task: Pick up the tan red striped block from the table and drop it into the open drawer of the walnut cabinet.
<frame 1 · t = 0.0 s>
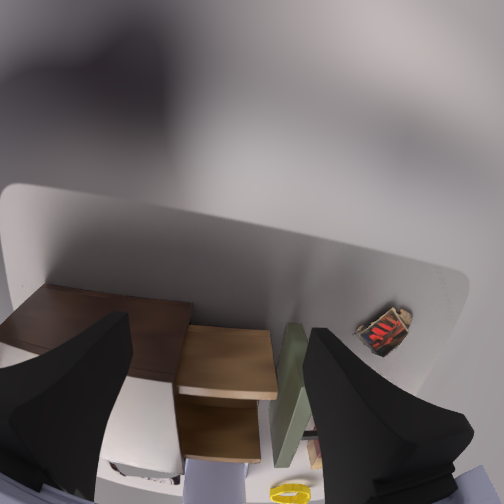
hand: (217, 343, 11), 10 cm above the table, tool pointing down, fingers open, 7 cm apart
pullout: (242, 400, 20), point 4 cm above the table, slide at 7.0 cm
cabinet: (118, 349, 23), on the table
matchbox: (386, 328, 24), on the table
tan red striped block: (326, 429, 28), on the table
yellow rubber band ring: (276, 489, 33), point 1 cm above the table
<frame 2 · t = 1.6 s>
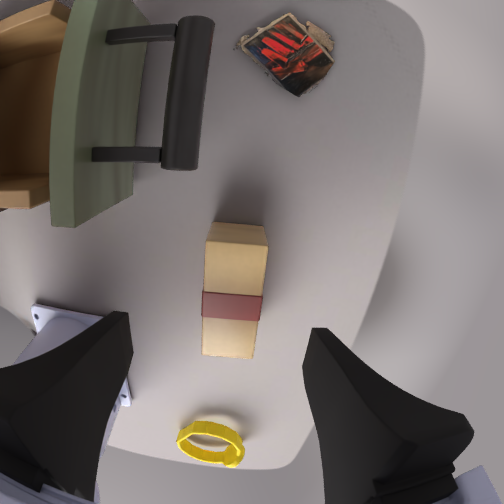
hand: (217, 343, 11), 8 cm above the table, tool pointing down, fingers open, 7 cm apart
pullout: (46, 105, 11), point 4 cm above the table, slide at 7.0 cm
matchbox: (292, 52, 14), on the table
tan red striped block: (232, 277, 19), on the table
yellow rubber band ring: (183, 429, 23), point 1 cm above the table
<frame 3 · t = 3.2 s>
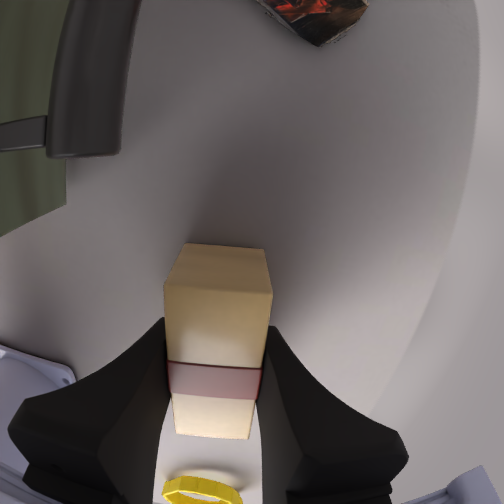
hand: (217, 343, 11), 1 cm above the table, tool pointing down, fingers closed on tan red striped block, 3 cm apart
tan red striped block: (219, 323, 12), on the table, touching gripper
yellow rubber band ring: (168, 483, 17), point 1 cm above the table
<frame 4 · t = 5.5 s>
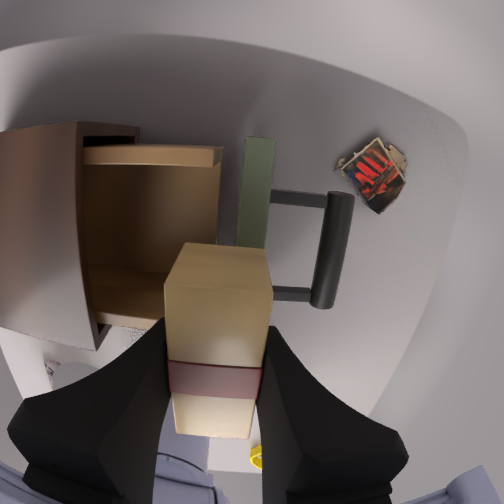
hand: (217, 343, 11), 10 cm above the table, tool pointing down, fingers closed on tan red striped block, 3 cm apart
pullout: (183, 229, 16), point 4 cm above the table, slide at 7.0 cm
cabinet: (59, 205, 19), on the table
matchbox: (376, 172, 19), on the table
tan red striped block: (219, 323, 12), point 9 cm above the table, touching gripper
yellow rubber band ring: (257, 447, 28), point 1 cm above the table
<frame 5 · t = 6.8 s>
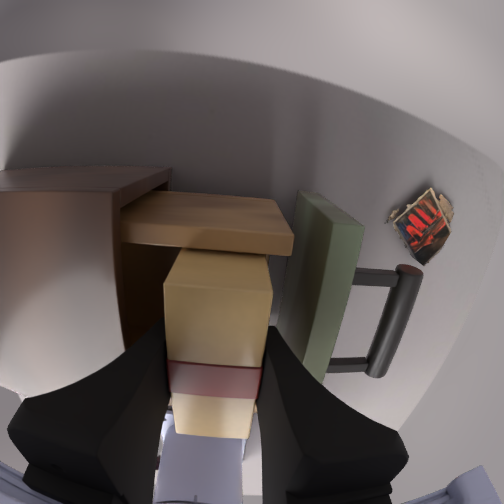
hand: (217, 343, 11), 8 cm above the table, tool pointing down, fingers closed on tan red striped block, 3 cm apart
pullout: (235, 301, 14), point 4 cm above the table, slide at 7.0 cm
cabinet: (75, 252, 18), on the table
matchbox: (424, 223, 18), on the table
tan red striped block: (219, 323, 12), point 6 cm above the table, touching gripper
when the fingers open (5 cm above the table, at t = 7.9 s): tan red striped block drops 2 cm, resting on pullout.
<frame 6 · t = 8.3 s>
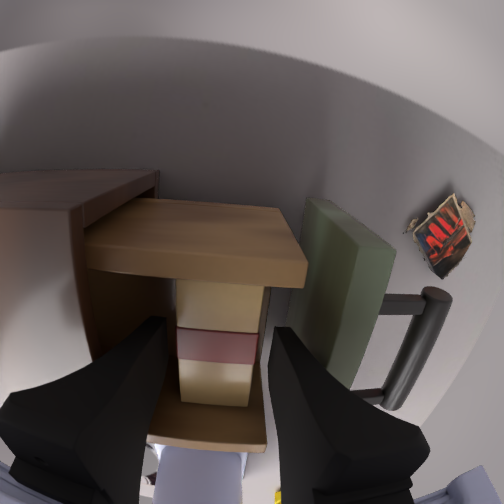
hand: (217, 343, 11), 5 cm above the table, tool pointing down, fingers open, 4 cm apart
pullout: (233, 329, 12), point 4 cm above the table, slide at 7.0 cm, touching tan red striped block, gripper
cabinet: (56, 265, 15), on the table
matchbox: (444, 232, 15), on the table
tan red striped block: (221, 300, 14), point 2 cm above the table, touching pullout
yellow rubber band ring: (283, 493, 24), point 1 cm above the table
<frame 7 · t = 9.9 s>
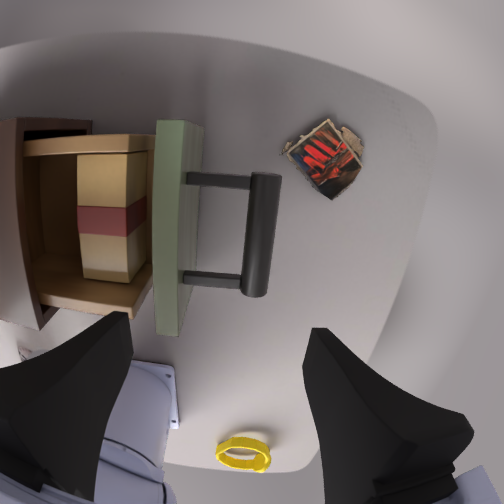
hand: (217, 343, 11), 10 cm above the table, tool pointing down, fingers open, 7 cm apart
pullout: (120, 216, 16), point 4 cm above the table, slide at 7.0 cm, touching tan red striped block
cabinet: (25, 197, 19), on the table
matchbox: (328, 156, 19), on the table
tan red striped block: (124, 206, 18), point 2 cm above the table, touching pullout
yellow rubber band ring: (222, 444, 28), point 1 cm above the table
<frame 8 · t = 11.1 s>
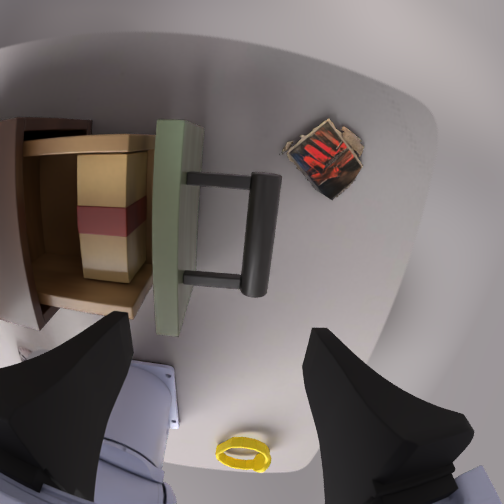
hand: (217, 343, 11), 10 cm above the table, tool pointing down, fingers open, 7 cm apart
pullout: (120, 216, 16), point 4 cm above the table, slide at 7.0 cm, touching tan red striped block
cabinet: (25, 197, 19), on the table
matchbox: (328, 156, 19), on the table
tan red striped block: (124, 206, 18), point 2 cm above the table, touching pullout
yellow rubber band ring: (222, 444, 28), point 1 cm above the table
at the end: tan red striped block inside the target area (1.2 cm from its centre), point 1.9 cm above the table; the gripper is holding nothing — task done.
